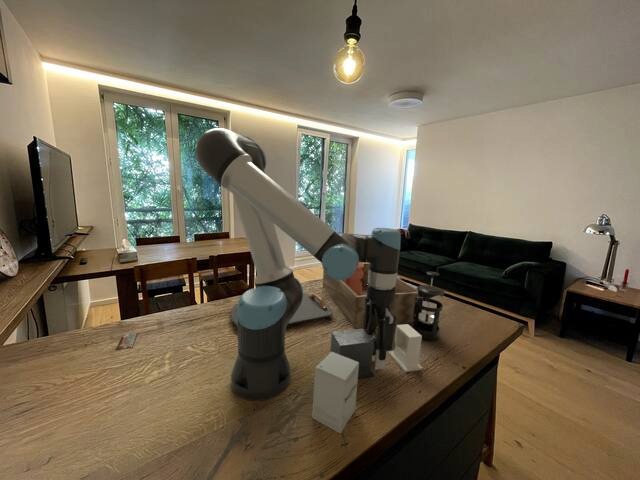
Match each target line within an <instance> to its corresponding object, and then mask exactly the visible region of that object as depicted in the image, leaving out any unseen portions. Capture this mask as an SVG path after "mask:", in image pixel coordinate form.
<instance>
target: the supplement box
mask: <svg viewBox="0 0 640 480" xmlns="http://www.w3.org/2000/svg"><path fill="white" fill-rule="evenodd" d="M358 370H359V362H357V361H354V360H352V359H349V358H347V357H344V356H341V355H339V354H336V353H334V352H331V351H330V352H329V354H327V355H326V356H325V357H324V358H323V359H322V360H321V361H320V362H319V363H318V364H317V365H316V366H315V367H314V379H313V397H312V413H311V414H312V416H311V417H312V419H314V420H316V421H317V422H319V423H321V424H323V426H326V427H328V428H329V429H331V430H333V431H335V432H337V433H338V434H342V432H343V431H344V428H345V427H346V425H347V424H348V422H349V420H350V419H351V417H352V415H353V414H354V412H355V411H356V402H357V392H358V391H357V390H358V381H359V379H358Z"/></svg>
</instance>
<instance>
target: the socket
mask: <svg viewBox="0 0 640 480" xmlns="http://www.w3.org/2000/svg"><path fill="white" fill-rule="evenodd" d="M395 325H396V326H395V331H394V332H395V333H394V341H395V350H394V351H388V354H389V355H390V357H392V359H393V360H394V361H395V362H396V363H397V365H398V366H399V367H400V368H401V369H402V370H403V372H404V373H408V372H415V371H422V370H423V368H424V367H422V366H421V364H420V363H419V361H420V355H421V346H422V345H421V344H422V341H423V340H422V336H421V335H420V334H419V333H418V332H417V331H415V330H414V329H413V328H412V326H410V324H408V323H402V324H395Z"/></svg>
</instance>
